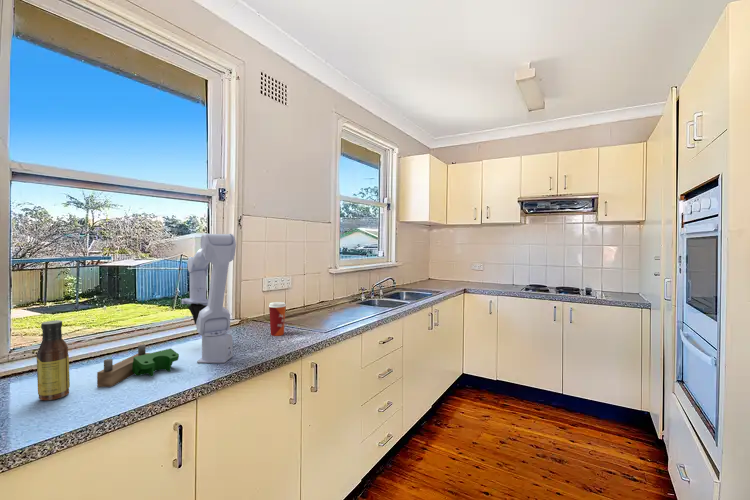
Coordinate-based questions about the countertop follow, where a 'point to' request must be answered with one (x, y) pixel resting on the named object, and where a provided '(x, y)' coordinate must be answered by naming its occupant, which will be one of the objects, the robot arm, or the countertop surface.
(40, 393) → the sauce bottle
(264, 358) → the countertop surface
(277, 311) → the paper cup
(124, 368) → the bar
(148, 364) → the clamp
